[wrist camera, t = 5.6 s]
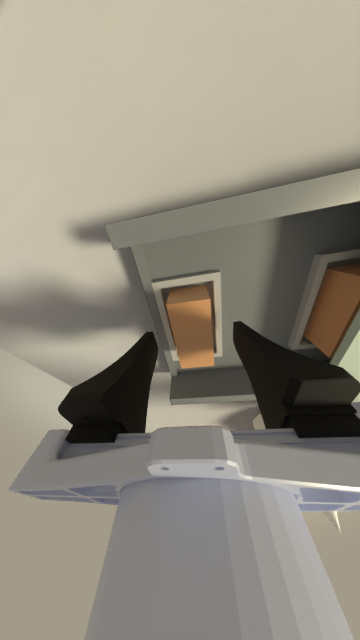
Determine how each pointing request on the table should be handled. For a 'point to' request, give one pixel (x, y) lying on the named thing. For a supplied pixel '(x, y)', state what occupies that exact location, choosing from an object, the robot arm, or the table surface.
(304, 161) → the table surface
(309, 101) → the table surface
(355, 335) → the lid
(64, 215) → the table surface
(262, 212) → the housing
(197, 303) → the block
